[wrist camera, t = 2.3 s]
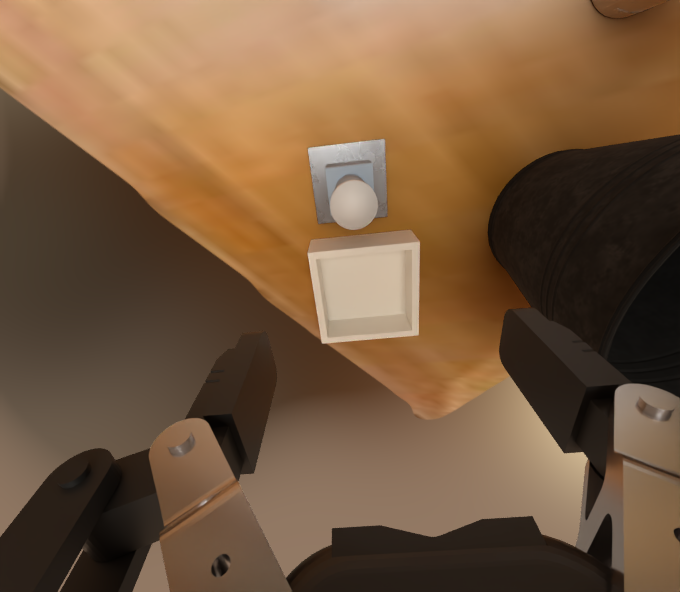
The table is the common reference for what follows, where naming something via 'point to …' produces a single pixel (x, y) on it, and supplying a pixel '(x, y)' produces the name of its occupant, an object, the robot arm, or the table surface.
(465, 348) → the table surface
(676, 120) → the table surface
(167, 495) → the robot arm
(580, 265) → the bucket
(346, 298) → the parts tray
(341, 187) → the knob
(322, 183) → the stud mount
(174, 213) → the table surface
